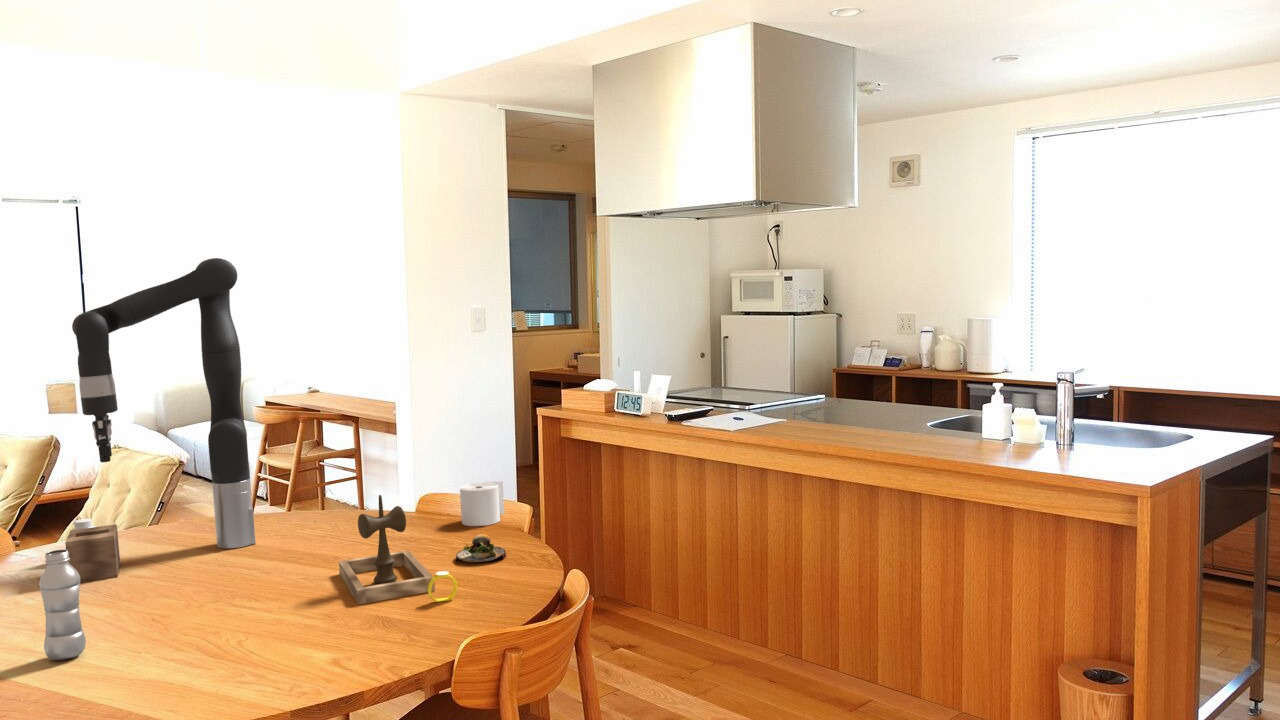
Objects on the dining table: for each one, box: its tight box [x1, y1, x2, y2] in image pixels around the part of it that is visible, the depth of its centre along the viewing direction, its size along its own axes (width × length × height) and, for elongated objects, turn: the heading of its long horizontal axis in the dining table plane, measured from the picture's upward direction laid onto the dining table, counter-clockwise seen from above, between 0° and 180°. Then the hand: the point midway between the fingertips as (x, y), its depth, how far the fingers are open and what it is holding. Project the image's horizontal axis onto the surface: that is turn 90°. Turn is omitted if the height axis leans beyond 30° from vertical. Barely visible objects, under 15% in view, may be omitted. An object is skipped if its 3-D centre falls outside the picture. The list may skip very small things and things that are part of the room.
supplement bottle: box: [72, 518, 96, 530], centre depth 246 cm, size 6×6×10 cm
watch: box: [427, 570, 458, 603], centre depth 202 cm, size 6×3×6 cm, turn 121°
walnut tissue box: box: [64, 524, 121, 584], centre depth 233 cm, size 10×13×10 cm
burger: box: [455, 533, 507, 563], centre depth 232 cm, size 12×12×8 cm
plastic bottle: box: [38, 548, 87, 661], centre depth 178 cm, size 6×7×20 cm
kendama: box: [357, 494, 407, 585], centre depth 216 cm, size 6×10×20 cm, turn 129°
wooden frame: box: [338, 550, 436, 605], centre depth 217 cm, size 16×25×3 cm, turn 26°
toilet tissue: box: [459, 481, 505, 527], centre depth 269 cm, size 11×12×10 cm
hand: (106, 459), depth 236 cm, fingers open, 8 cm apart
